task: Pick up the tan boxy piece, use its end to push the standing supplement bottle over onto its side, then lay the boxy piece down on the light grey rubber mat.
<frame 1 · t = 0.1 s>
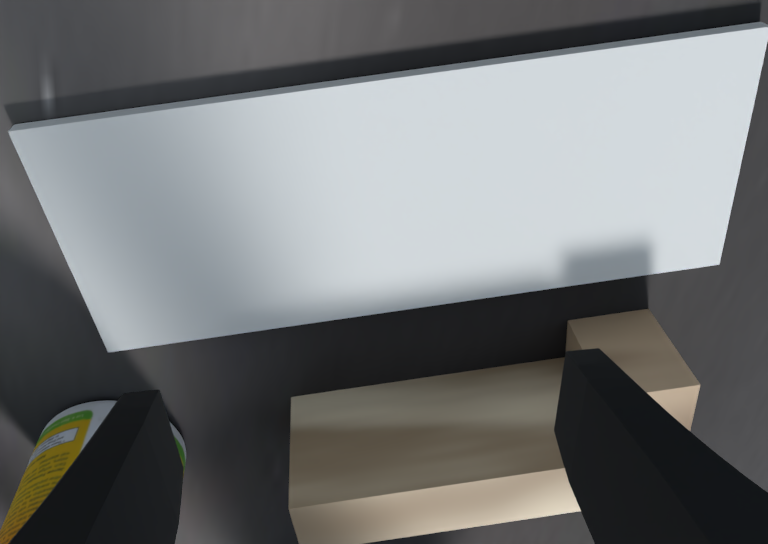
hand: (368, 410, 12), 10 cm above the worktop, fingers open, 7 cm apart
tan boxy piece: (500, 388, 26), on the worktop
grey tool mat: (404, 198, 21), on the worktop
supplement bottle: (117, 441, 26), on the worktop
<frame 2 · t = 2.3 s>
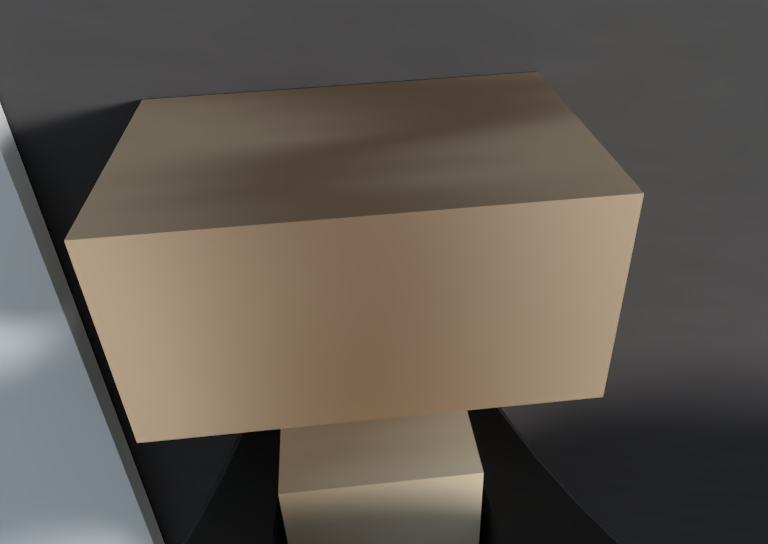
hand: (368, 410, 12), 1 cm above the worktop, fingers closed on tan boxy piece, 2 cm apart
tan boxy piece: (363, 357, 13), on the worktop, touching gripper
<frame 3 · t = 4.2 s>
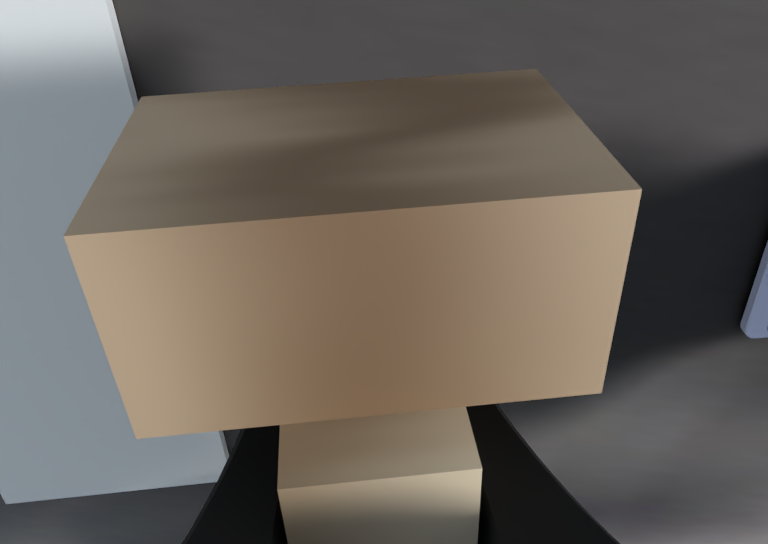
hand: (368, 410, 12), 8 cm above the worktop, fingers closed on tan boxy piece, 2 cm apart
tan boxy piece: (362, 355, 13), point 7 cm above the worktop, touching gripper
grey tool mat: (24, 237, 19), on the worktop
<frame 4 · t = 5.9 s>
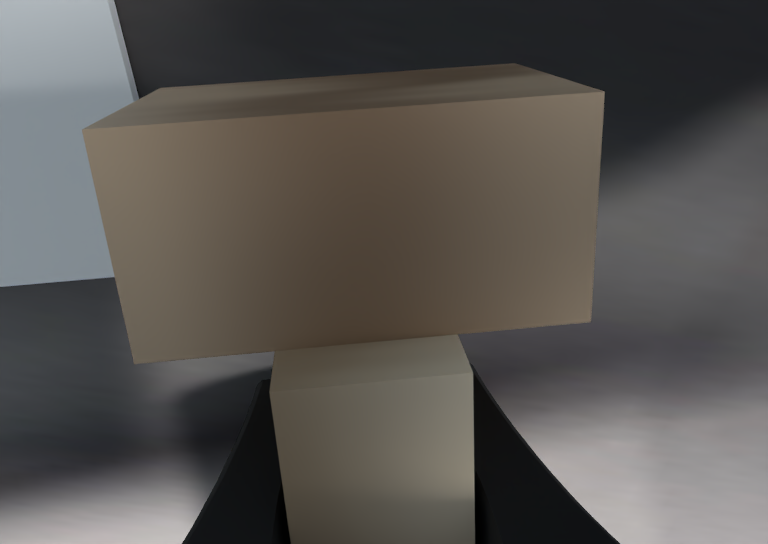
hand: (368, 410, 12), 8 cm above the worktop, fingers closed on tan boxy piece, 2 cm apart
tan boxy piece: (363, 360, 14), point 7 cm above the worktop, tilted 13°, touching gripper
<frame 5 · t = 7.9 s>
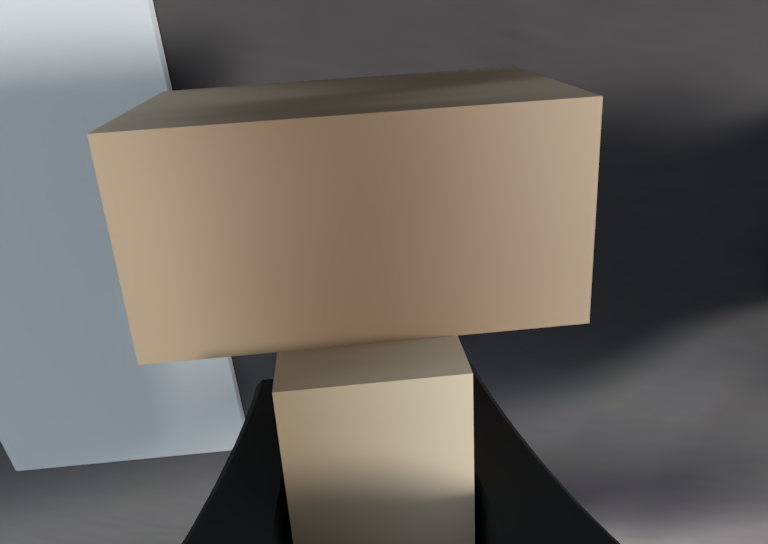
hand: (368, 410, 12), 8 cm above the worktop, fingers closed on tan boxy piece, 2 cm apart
tan boxy piece: (363, 361, 14), point 7 cm above the worktop, tilted 13°, touching gripper
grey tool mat: (40, 184, 18), on the worktop
when the fingers open (3 cm above the worktop, at t = 9.6 s): tan boxy piece stays where it is, resting on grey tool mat.
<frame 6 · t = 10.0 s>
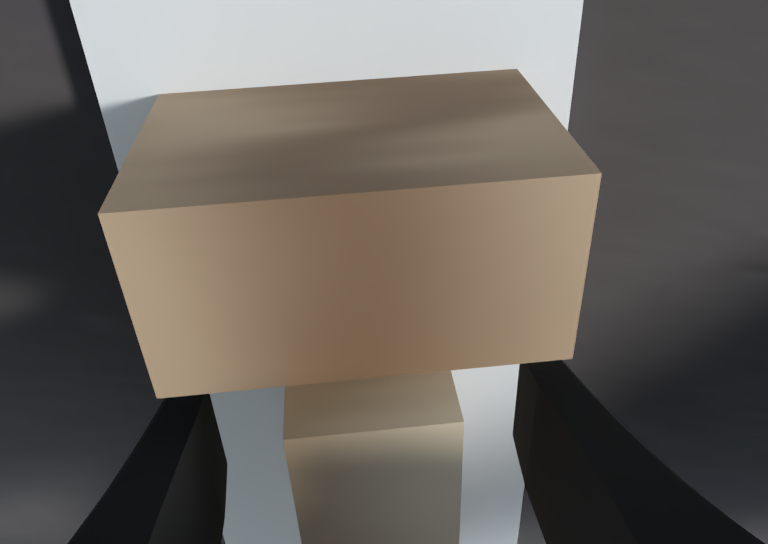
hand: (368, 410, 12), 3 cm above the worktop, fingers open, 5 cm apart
tan boxy piece: (360, 334, 14), resting on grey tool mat
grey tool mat: (358, 309, 15), on the worktop
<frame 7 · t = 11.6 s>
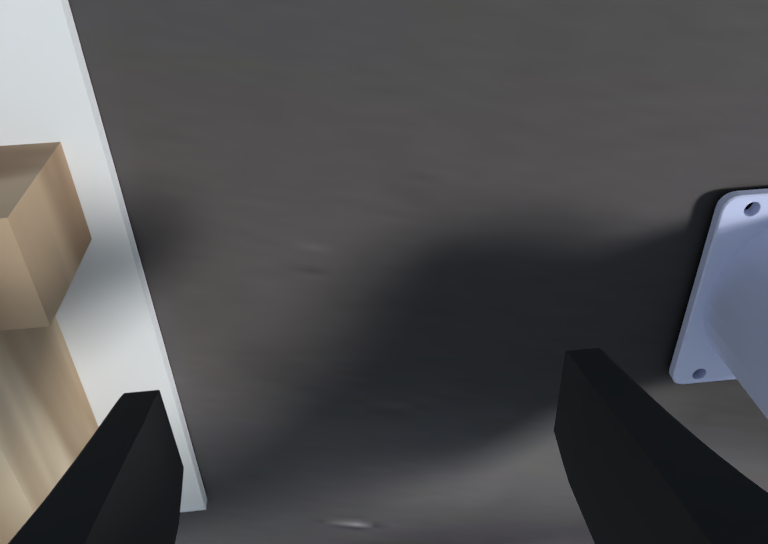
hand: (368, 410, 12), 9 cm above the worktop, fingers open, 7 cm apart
tan boxy piece: (13, 316, 21), resting on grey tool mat
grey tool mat: (16, 298, 21), on the worktop
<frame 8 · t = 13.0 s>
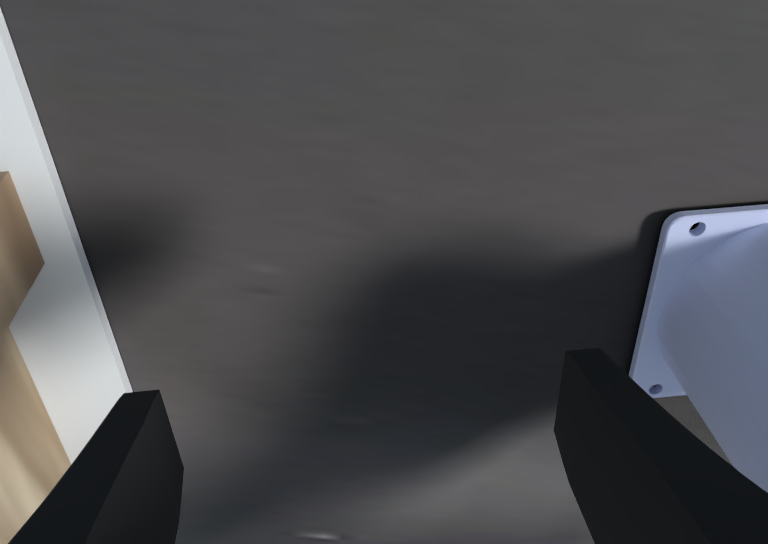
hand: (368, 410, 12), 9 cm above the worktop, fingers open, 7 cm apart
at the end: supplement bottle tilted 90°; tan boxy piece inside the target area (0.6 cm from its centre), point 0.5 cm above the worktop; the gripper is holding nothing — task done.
